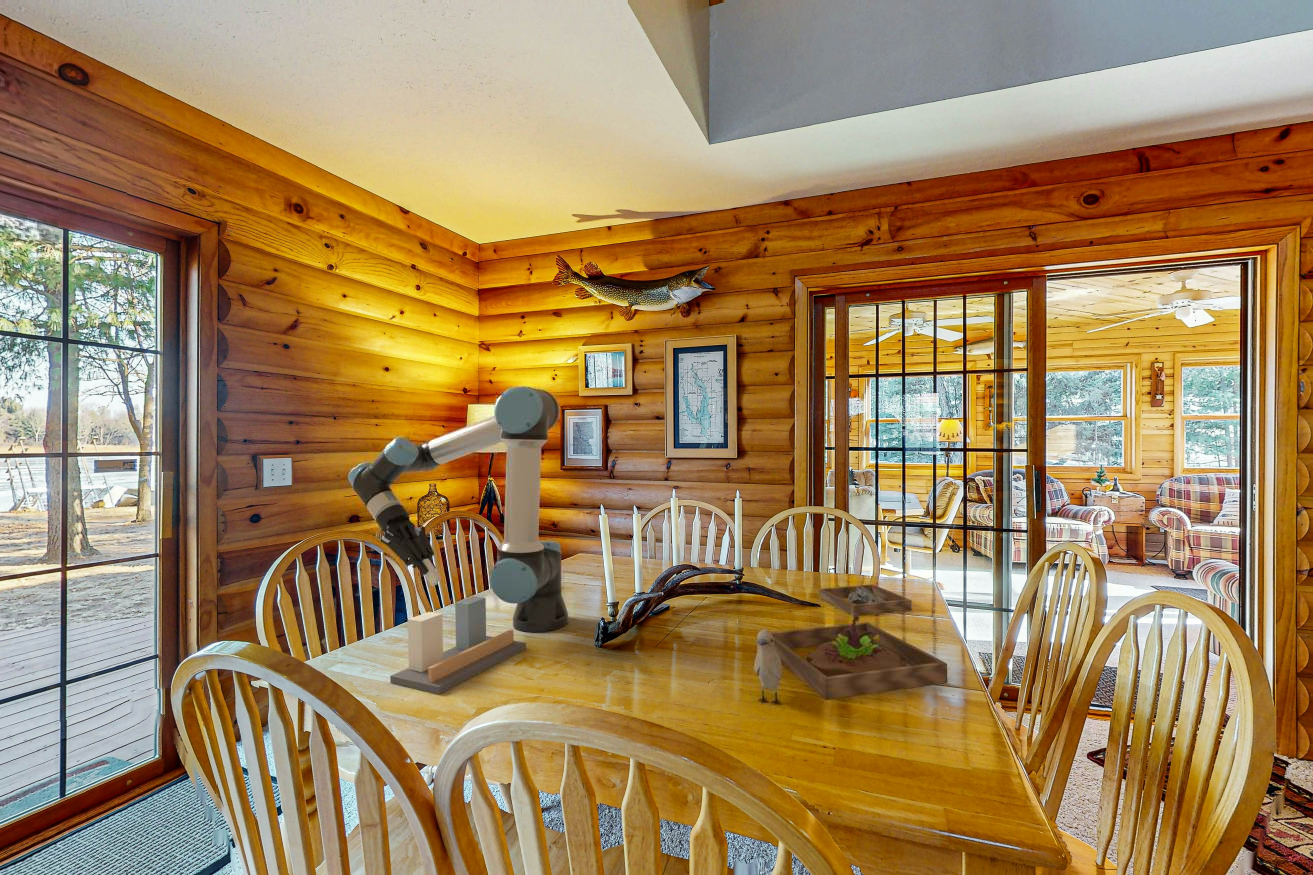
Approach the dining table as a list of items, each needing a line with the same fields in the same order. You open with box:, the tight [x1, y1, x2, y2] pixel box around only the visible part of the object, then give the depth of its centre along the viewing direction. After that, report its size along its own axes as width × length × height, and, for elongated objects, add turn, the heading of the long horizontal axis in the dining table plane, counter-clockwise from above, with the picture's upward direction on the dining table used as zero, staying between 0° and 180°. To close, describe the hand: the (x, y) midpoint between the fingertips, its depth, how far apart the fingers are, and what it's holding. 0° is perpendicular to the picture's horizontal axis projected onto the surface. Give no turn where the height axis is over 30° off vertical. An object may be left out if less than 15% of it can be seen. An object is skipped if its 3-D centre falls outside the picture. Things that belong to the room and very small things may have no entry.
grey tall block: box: [454, 595, 487, 650], centre depth 145 cm, size 4×6×11 cm, turn 154°
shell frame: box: [818, 583, 912, 617], centre depth 179 cm, size 19×19×3 cm
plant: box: [806, 615, 903, 677], centre depth 133 cm, size 20×20×11 cm
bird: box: [753, 628, 783, 706], centre depth 115 cm, size 5×14×15 cm, turn 158°
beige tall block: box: [407, 611, 444, 672], centre depth 132 cm, size 4×6×11 cm, turn 154°
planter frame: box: [769, 621, 948, 701], centre depth 133 cm, size 28×28×4 cm
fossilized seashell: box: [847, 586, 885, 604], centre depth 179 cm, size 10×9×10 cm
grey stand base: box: [389, 629, 527, 695], centre depth 137 cm, size 14×28×4 cm, turn 154°
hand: (436, 581), depth 149 cm, fingers closed
